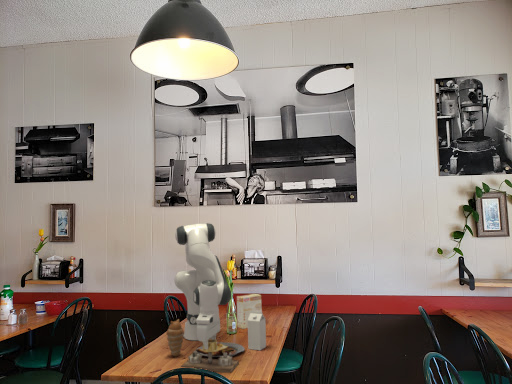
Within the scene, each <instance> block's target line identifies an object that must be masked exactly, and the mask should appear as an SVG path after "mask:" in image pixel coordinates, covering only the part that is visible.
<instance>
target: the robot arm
mask: <svg viewBox="0 0 512 384" xmlns="http://www.w3.org/2000/svg"><path fill="white" fill-rule="evenodd" d="M216 233H217V232H216V228H215V226H214V225H213V224H212V223H210V222H207V223H194V224H188V225H181V226H180V225H179V226H178V227H177V228H176V230H175V233H174V236H175V240H176V242H177V244H178V245H180V246H181V245H182V246H184V247H185V261H186V263H187V264H188V266H190V267H192V268H193V269H188V270H182V271H177V272H176V275H175V276H174V284H175V286H176V288H177V289H179V290H180V291H181V292H182V293H183V294H184V296H185V299H186V304H187V307H186V308H187V313H186V321H185V322H184V332H183V339H186V340H189V341H198V342H202V345H203V344H204V349H208V348H209V344H208V339H214V340H217V339H216V337H217V334H218V333H219V332H220V331H221V319H220V310H219V306H226V305H227V304H228V303H229V302H230V301H231V299H232V291H231V287H230V285H229V283H228V281H227V280H226V279H227V278H226V276H225V273H224V270H223V267H222V265H221V262H220V260H219V258H218V256H217V255H215V254H214V253H213V251H212V250H211V249H210V243H211V242H213V241H214V240H215V239H216Z"/></svg>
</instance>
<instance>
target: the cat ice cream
mask: <svg viewBox="0 0 512 384" xmlns="http://www.w3.org/2000/svg"><path fill="white" fill-rule="evenodd" d="M183 334H184V329H183V327H182V324H181V322H180V318H178V319H176V320H174V321H172V320H170V325H169V326H168V329H167V331H166V335H167V337H166V338H167V345H168V348H169V351H170V352H171V356H173V357H178V356H179V355H180V353H181V349H182V344H183V341H184V337H183Z"/></svg>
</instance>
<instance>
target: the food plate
mask: <svg viewBox="0 0 512 384" xmlns="http://www.w3.org/2000/svg"><path fill="white" fill-rule="evenodd" d="M245 350H246V349H245V347H244V346H243V345H241V344H239V343H234V342H222V341H220V342H217V350H216V351H213V352H212V358H220V356H223V353H227V356H230V357H235V355H238V354H240V353H241V352H244V351H245ZM195 351H197V354H200V355H202V357H207V358H208V352H206V351H203V345H201V346H198V347H197V348H196V349H195ZM210 352H211V351H210Z"/></svg>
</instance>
